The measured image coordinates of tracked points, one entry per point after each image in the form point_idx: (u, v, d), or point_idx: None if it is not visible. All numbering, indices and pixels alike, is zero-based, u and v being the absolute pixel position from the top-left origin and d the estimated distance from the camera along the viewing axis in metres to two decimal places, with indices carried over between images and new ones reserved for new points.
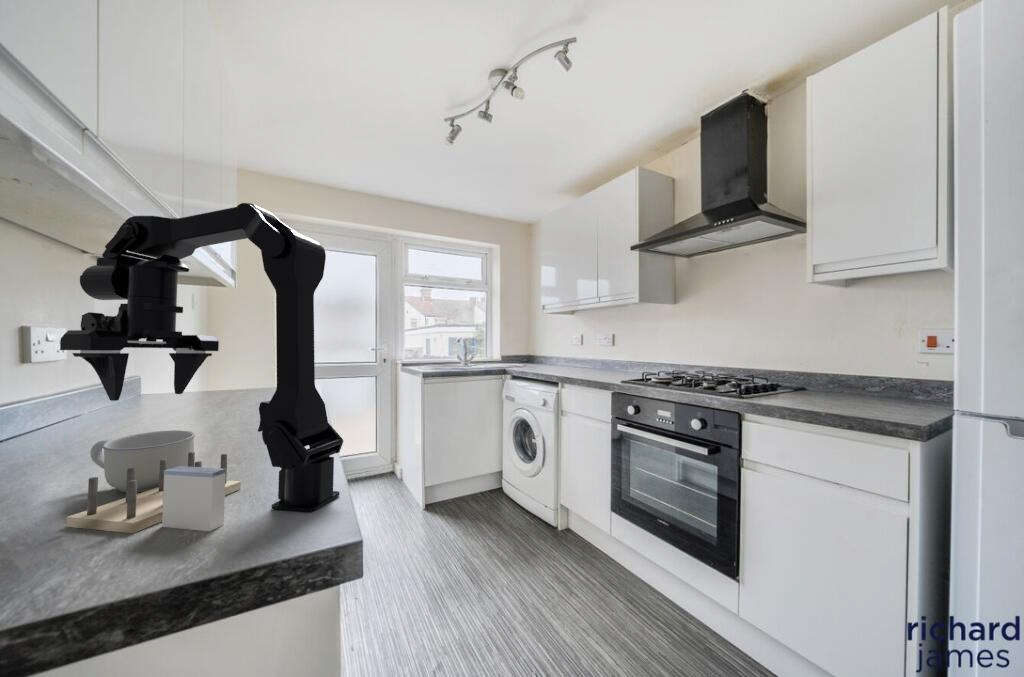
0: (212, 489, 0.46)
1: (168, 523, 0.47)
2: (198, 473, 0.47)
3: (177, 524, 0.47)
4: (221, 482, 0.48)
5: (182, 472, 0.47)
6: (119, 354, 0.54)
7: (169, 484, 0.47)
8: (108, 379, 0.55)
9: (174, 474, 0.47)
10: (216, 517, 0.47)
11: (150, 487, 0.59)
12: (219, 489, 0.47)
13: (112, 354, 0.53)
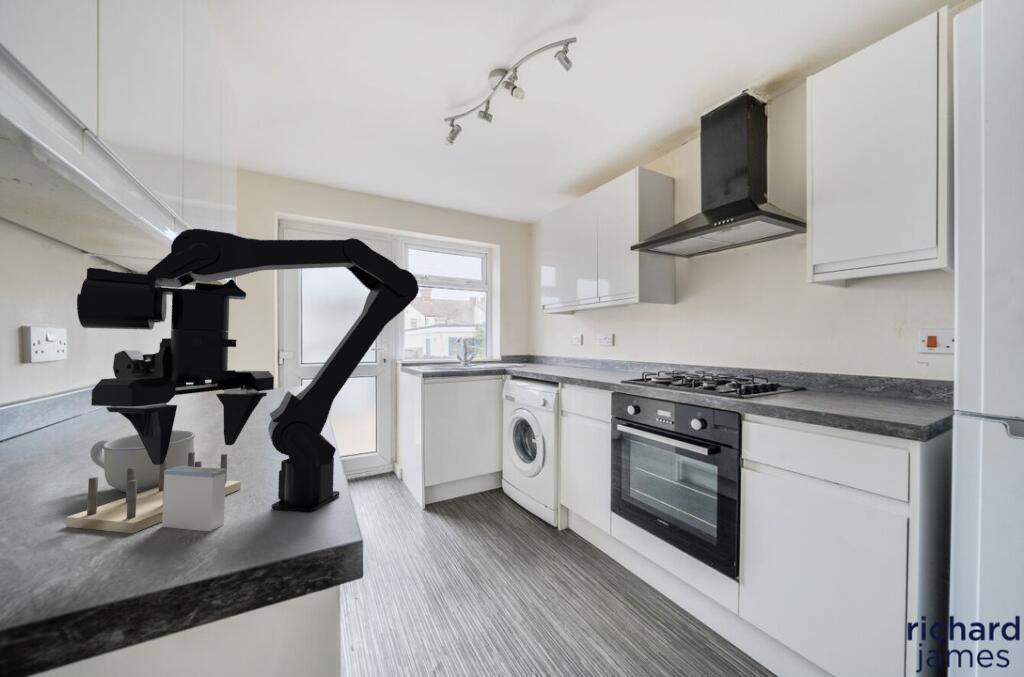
0: (212, 489, 0.46)
1: (168, 523, 0.47)
2: (198, 473, 0.47)
3: (177, 524, 0.47)
4: (221, 482, 0.48)
5: (182, 472, 0.47)
6: (166, 408, 0.42)
7: (169, 484, 0.47)
8: (151, 439, 0.43)
9: (174, 474, 0.47)
10: (216, 517, 0.47)
11: (150, 487, 0.59)
12: (219, 489, 0.48)
13: (158, 409, 0.41)
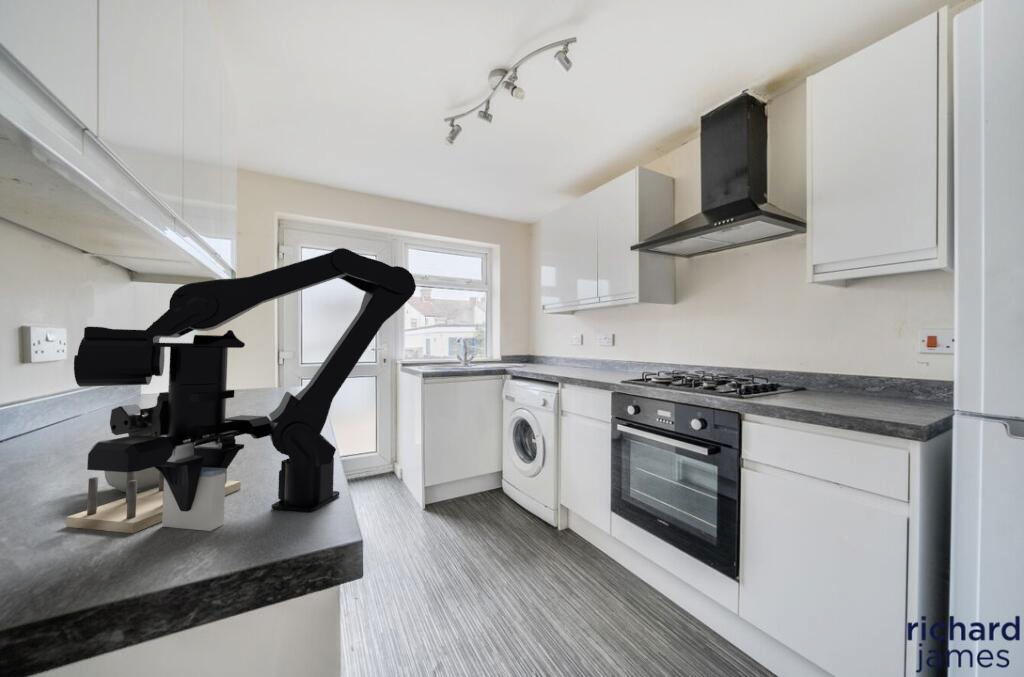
0: (212, 488, 0.46)
1: (168, 523, 0.47)
2: None
3: (177, 524, 0.47)
4: (221, 482, 0.48)
5: None
6: (194, 460, 0.45)
7: None
8: (180, 488, 0.46)
9: None
10: (216, 517, 0.47)
11: (150, 487, 0.59)
12: (219, 489, 0.48)
13: (187, 462, 0.44)
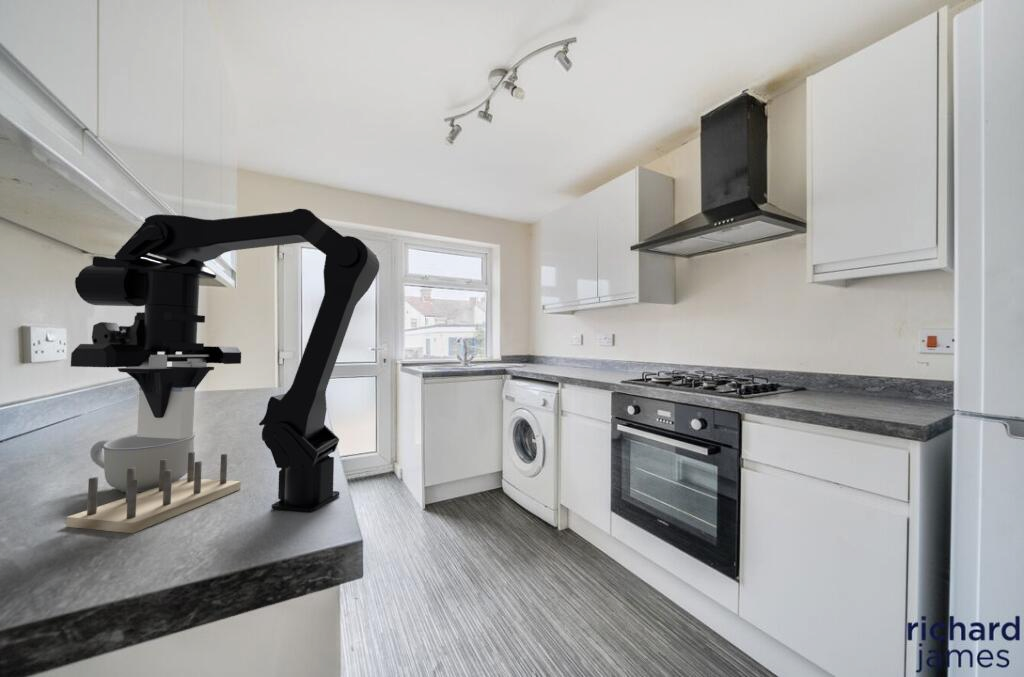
0: (181, 402, 0.53)
1: (142, 433, 0.53)
2: None
3: (151, 434, 0.53)
4: (190, 398, 0.54)
5: None
6: (166, 369, 0.51)
7: (144, 399, 0.54)
8: (154, 395, 0.52)
9: None
10: (185, 428, 0.53)
11: (150, 487, 0.59)
12: (189, 404, 0.54)
13: (160, 370, 0.50)
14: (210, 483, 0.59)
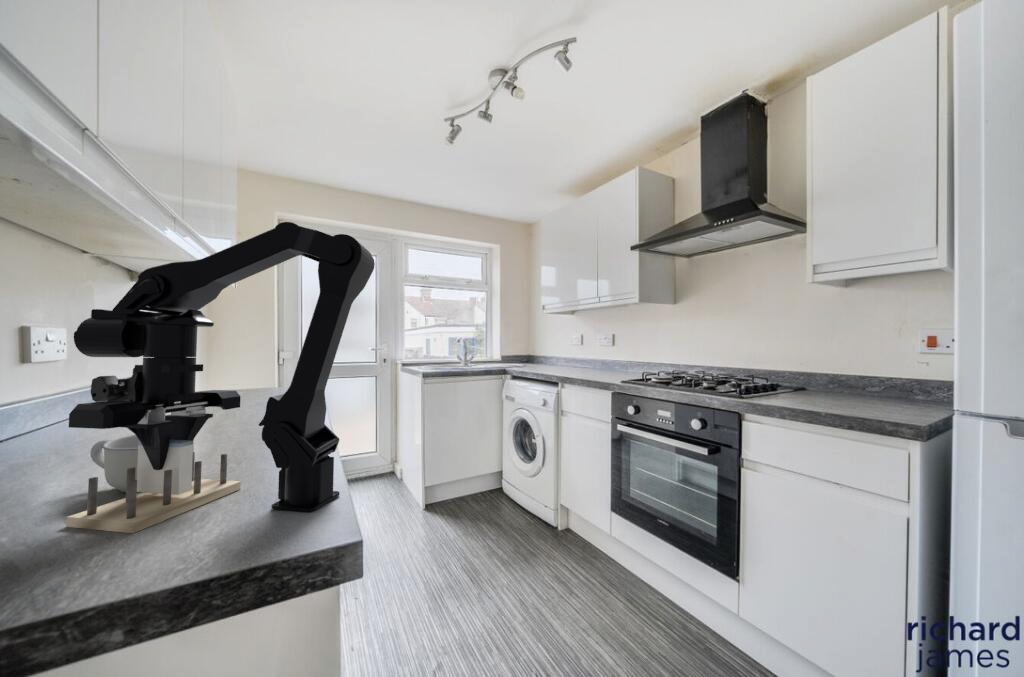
0: (179, 457, 0.53)
1: (141, 488, 0.53)
2: None
3: (150, 489, 0.53)
4: (189, 452, 0.54)
5: None
6: (165, 423, 0.51)
7: (142, 454, 0.54)
8: (152, 448, 0.52)
9: None
10: (184, 483, 0.53)
11: None
12: (187, 458, 0.54)
13: (158, 424, 0.50)
14: (210, 483, 0.59)
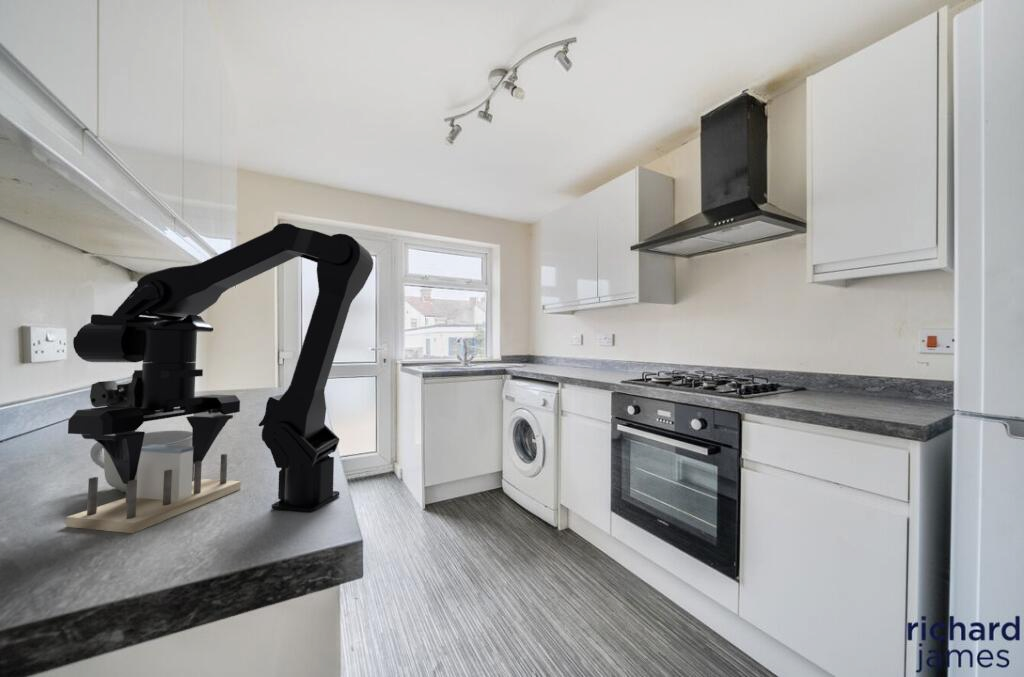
0: (180, 463, 0.53)
1: (141, 494, 0.53)
2: (168, 450, 0.53)
3: (150, 495, 0.53)
4: (189, 458, 0.54)
5: (154, 449, 0.53)
6: (134, 434, 0.47)
7: (142, 460, 0.54)
8: (121, 461, 0.48)
9: (147, 450, 0.53)
10: (184, 489, 0.53)
11: None
12: (187, 464, 0.54)
13: (126, 436, 0.47)
14: (210, 483, 0.59)
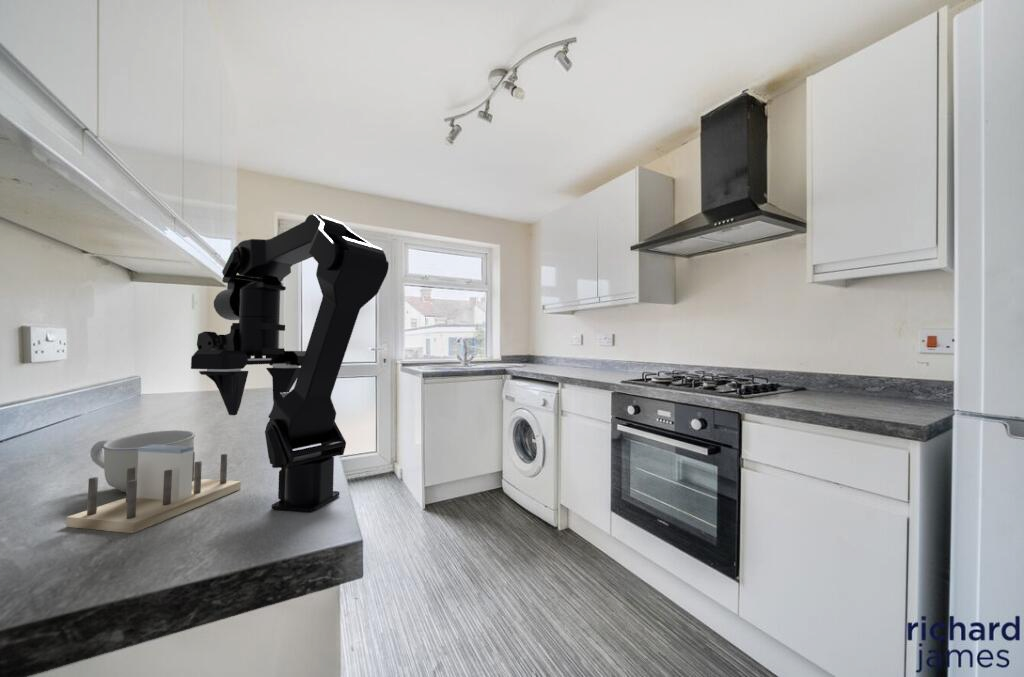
0: (180, 463, 0.53)
1: (141, 494, 0.53)
2: (168, 450, 0.53)
3: (150, 495, 0.53)
4: (189, 458, 0.54)
5: (154, 449, 0.53)
6: (242, 372, 0.57)
7: (142, 460, 0.54)
8: (229, 395, 0.58)
9: (147, 450, 0.53)
10: (184, 489, 0.53)
11: None
12: (187, 464, 0.54)
13: (237, 372, 0.56)
14: (210, 483, 0.59)
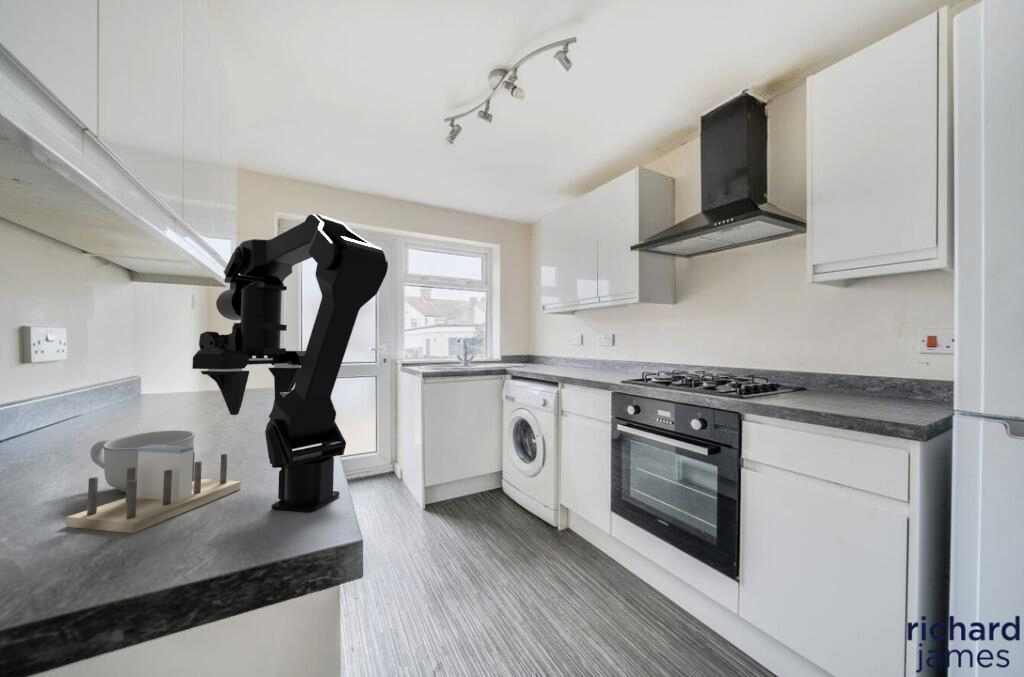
0: (180, 463, 0.53)
1: (141, 494, 0.53)
2: (168, 450, 0.53)
3: (150, 495, 0.53)
4: (189, 458, 0.54)
5: (154, 449, 0.53)
6: (243, 372, 0.57)
7: (142, 460, 0.54)
8: (230, 395, 0.58)
9: (147, 450, 0.53)
10: (184, 489, 0.53)
11: None
12: (187, 464, 0.54)
13: (238, 372, 0.57)
14: (210, 483, 0.59)
